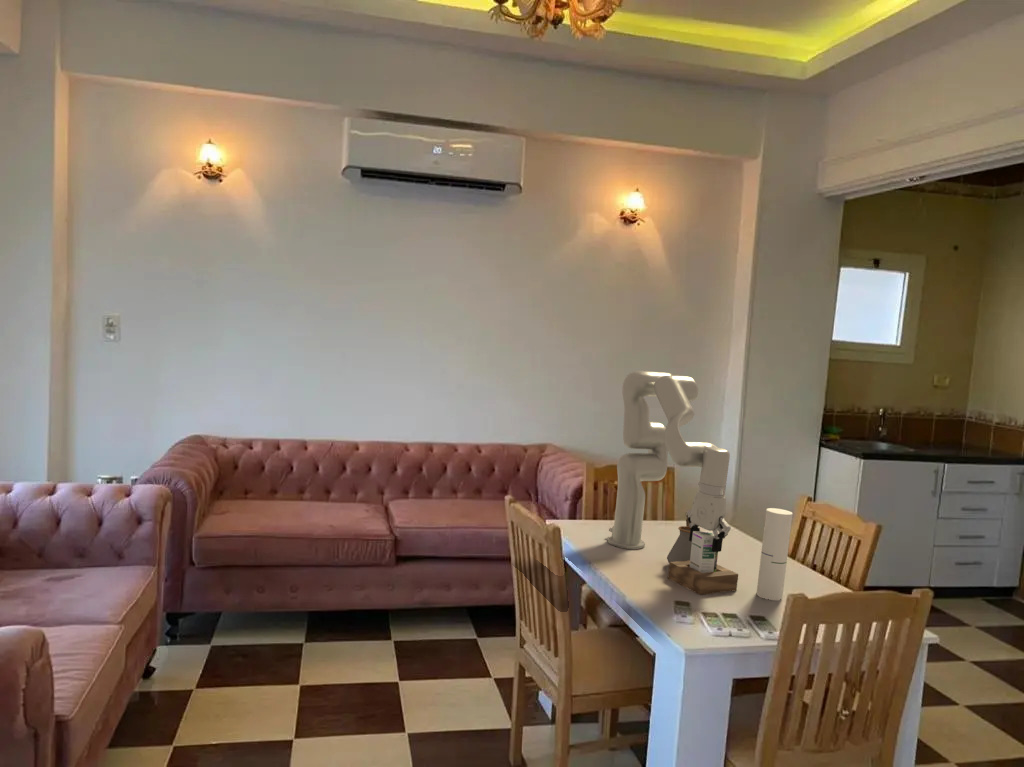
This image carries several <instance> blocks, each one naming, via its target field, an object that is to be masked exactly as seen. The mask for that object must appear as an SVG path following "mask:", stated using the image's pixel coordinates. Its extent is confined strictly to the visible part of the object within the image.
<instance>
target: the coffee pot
mask: <svg viewBox="0 0 1024 767" xmlns="http://www.w3.org/2000/svg"><path fill="white" fill-rule="evenodd" d="M684 516H685V517H686V519H685V525H681V526H678V528H677V529H678V530H679V535H678V537H677V539H676V541H675V542H674V544H673V546H672V547H671V549H670V551H669V553H668V554H667V557H666V560H667V563H668V565H669V564H670V562H677V561H688V560H690V557H691V546H692V541H689V537H690V529H691V528H690V527H689V524H690V523H689V521H688V515H687V512H685V513H684Z"/></svg>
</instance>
